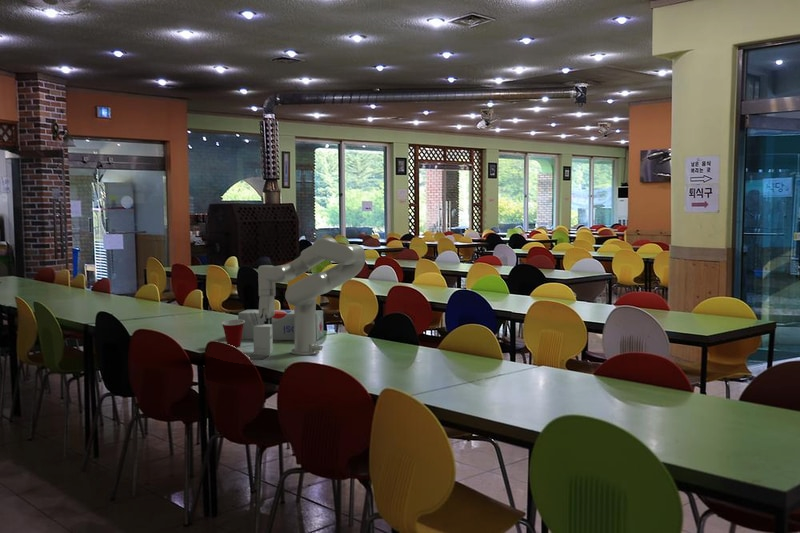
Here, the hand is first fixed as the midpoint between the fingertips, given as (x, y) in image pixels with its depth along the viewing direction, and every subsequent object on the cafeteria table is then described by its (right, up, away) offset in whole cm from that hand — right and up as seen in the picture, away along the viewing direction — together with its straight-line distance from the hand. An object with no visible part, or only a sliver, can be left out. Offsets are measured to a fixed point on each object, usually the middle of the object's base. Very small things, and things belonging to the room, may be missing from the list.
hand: (267, 332), depth 344 cm
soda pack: (+1, -6, +33) cm, 33 cm away
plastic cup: (-18, -8, +10) cm, 21 cm away
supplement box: (-1, -9, -6) cm, 11 cm away
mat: (-2, -9, -16) cm, 18 cm away
